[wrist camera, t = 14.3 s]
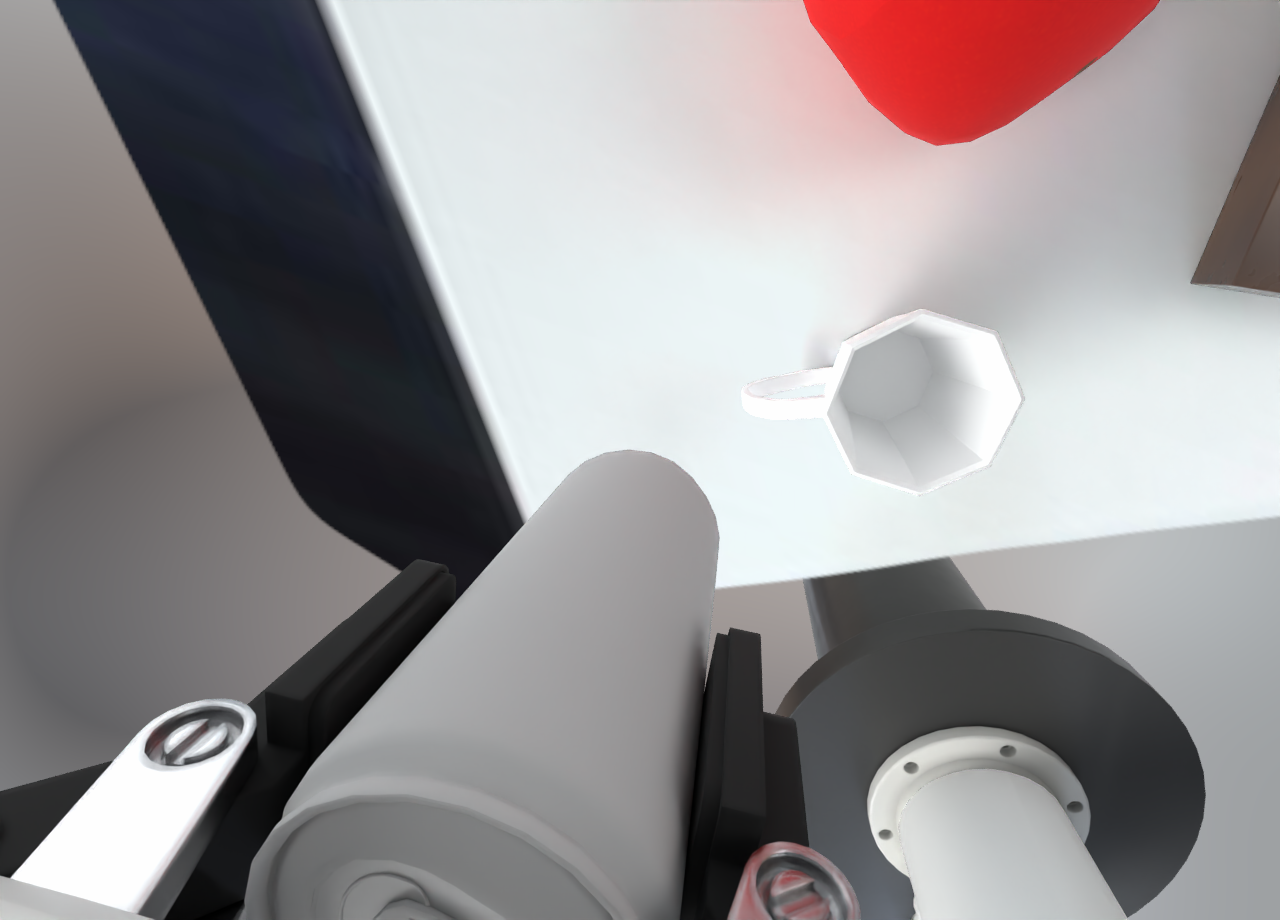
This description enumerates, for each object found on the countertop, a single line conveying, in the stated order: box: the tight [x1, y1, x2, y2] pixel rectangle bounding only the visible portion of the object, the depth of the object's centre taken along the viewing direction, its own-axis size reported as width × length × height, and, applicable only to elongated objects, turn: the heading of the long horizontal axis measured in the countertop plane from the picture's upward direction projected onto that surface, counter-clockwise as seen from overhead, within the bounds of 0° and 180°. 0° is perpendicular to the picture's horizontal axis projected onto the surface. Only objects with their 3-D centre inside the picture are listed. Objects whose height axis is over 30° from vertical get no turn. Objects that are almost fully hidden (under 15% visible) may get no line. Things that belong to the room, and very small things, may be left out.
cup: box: [741, 309, 1025, 496], centre depth 27 cm, size 7×10×8 cm
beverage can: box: [244, 450, 720, 920], centre depth 12 cm, size 5×5×12 cm
